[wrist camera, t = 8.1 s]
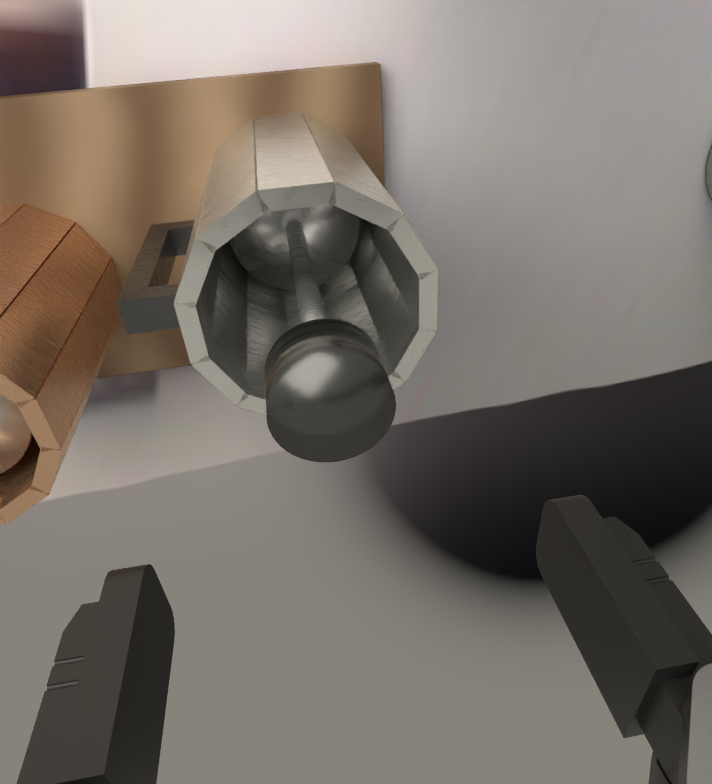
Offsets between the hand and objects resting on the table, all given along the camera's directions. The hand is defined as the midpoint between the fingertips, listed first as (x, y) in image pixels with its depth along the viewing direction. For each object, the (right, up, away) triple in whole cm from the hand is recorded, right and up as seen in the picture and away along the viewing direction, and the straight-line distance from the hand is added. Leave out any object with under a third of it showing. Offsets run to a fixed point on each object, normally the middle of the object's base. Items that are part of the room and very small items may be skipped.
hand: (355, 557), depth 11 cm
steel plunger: (-3, +12, +17) cm, 21 cm away
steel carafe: (-5, +14, +20) cm, 25 cm away
